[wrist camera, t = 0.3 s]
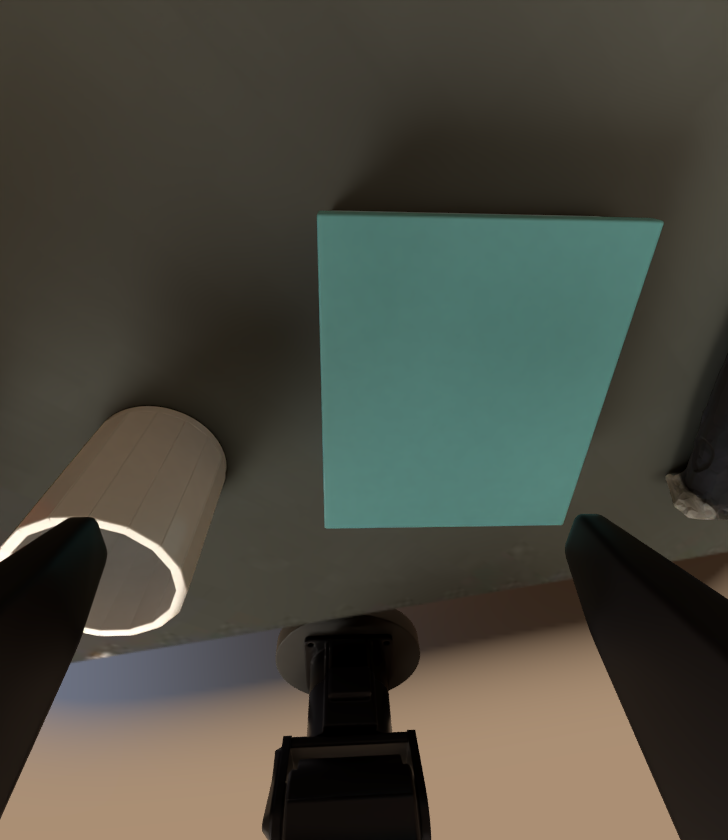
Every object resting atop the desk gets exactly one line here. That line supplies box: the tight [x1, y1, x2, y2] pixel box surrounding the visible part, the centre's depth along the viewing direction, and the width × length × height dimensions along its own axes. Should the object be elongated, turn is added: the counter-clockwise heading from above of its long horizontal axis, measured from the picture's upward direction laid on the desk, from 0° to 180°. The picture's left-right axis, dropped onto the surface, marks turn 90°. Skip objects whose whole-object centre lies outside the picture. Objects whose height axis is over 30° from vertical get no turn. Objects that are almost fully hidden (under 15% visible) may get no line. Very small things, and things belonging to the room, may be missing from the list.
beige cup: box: [0, 406, 227, 636], centre depth 19 cm, size 6×6×7 cm
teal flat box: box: [317, 210, 664, 528], centre depth 19 cm, size 13×11×3 cm
